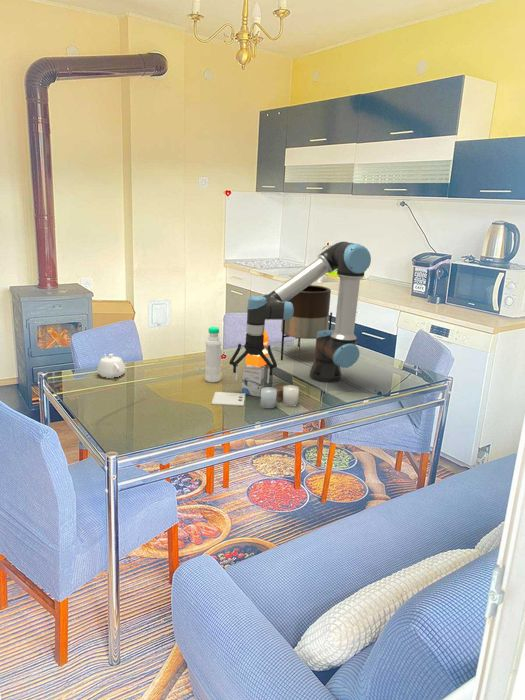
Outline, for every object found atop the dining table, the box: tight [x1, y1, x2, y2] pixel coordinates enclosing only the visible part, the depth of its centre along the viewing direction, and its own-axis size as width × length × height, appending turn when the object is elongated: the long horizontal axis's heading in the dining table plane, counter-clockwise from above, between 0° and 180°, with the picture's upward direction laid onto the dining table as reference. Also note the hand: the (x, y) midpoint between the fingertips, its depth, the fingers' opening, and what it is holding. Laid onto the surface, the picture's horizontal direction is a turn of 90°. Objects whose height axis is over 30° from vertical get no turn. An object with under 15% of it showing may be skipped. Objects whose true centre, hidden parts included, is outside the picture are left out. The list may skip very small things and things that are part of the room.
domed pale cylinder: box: [259, 386, 277, 409], centre depth 208 cm, size 6×6×7 cm
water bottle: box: [204, 326, 222, 383], centre depth 232 cm, size 7×7×25 cm
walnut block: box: [272, 385, 285, 402], centre depth 217 cm, size 5×5×5 cm
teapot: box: [96, 353, 126, 379], centre depth 235 cm, size 20×12×10 cm, turn 34°
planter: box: [280, 284, 333, 361], centre depth 274 cm, size 27×26×38 cm
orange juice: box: [245, 328, 269, 367], centre depth 259 cm, size 8×9×20 cm
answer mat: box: [211, 391, 246, 407], centre depth 214 cm, size 13×13×1 cm
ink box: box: [241, 365, 266, 398], centre depth 220 cm, size 9×5×12 cm, turn 71°
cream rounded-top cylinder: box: [281, 384, 300, 407], centre depth 212 cm, size 6×6×7 cm
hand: (252, 381), depth 220 cm, fingers open, 13 cm apart
